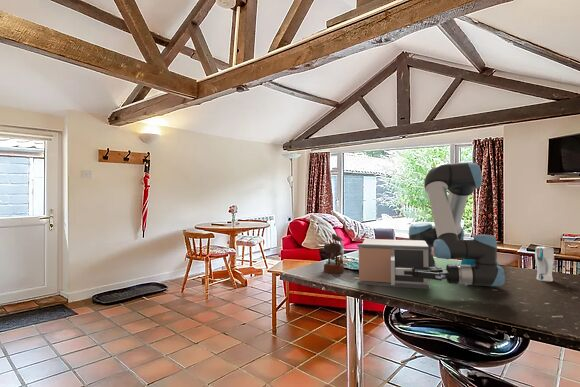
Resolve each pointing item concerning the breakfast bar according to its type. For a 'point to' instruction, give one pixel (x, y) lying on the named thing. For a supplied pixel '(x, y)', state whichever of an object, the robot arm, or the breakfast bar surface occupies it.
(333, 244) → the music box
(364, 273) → the side door
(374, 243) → the sliding door cabinet
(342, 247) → the screw
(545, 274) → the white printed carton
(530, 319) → the breakfast bar surface
